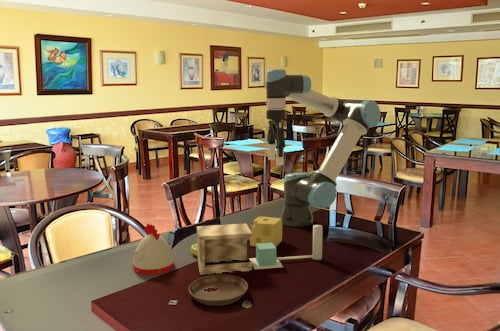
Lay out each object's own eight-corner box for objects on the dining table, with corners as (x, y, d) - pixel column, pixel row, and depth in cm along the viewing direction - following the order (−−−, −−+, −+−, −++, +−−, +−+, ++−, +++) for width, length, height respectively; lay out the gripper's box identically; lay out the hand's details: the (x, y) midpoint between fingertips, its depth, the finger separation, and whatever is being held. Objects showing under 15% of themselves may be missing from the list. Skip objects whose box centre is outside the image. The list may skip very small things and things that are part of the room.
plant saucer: (199, 314, 125) (198, 304, 125) (182, 289, 141) (181, 279, 141) (257, 302, 132) (257, 292, 132) (235, 279, 148) (234, 270, 148)
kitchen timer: (159, 256, 169) (158, 217, 166) (181, 266, 159) (180, 224, 156) (125, 266, 159) (123, 225, 156) (147, 277, 149) (145, 233, 147)
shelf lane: (246, 258, 166) (245, 223, 164) (252, 270, 154) (252, 233, 152) (197, 261, 162) (196, 226, 160) (200, 274, 151) (199, 236, 149)
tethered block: (318, 254, 168) (319, 223, 166) (324, 260, 162) (325, 228, 160) (256, 259, 164) (255, 227, 162) (259, 265, 158) (259, 232, 156)
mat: (275, 256, 167) (275, 256, 167) (282, 267, 157) (282, 266, 157) (249, 258, 165) (249, 258, 165) (254, 269, 155) (254, 268, 155)
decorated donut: (223, 256, 168) (223, 246, 168) (195, 260, 164) (195, 250, 164) (214, 247, 178) (214, 238, 177) (188, 251, 174) (187, 241, 173)
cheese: (249, 246, 179) (249, 221, 177) (259, 238, 188) (259, 214, 187) (274, 249, 175) (274, 224, 173) (283, 241, 185) (283, 217, 183)
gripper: (260, 108, 191) (260, 158, 194) (274, 110, 167) (274, 167, 170) (277, 107, 192) (277, 157, 196) (294, 110, 168) (293, 167, 172)
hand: (275, 162), depth 183 cm, fingers open, 13 cm apart
